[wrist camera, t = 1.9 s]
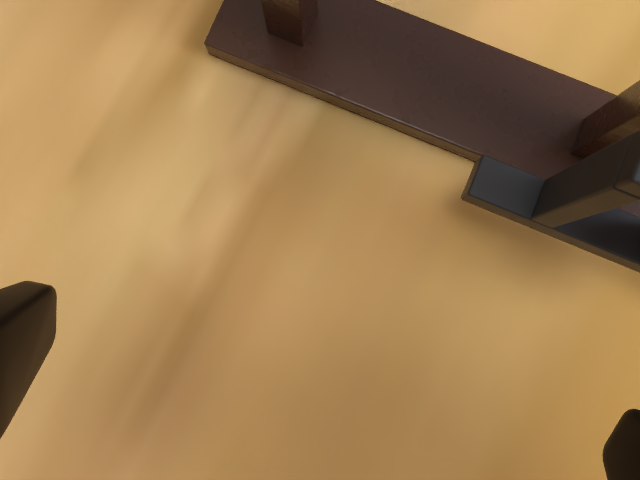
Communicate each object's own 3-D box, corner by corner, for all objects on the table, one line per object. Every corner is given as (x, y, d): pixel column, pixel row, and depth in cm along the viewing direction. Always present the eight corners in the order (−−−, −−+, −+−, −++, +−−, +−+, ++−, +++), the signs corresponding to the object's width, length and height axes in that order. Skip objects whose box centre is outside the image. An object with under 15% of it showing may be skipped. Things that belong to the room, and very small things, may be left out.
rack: (605, 309, 22) (1084, 328, 8) (172, 130, 23) (-59, -127, 9) (671, 129, 23) (1212, -133, 9) (250, -37, 24) (145, -512, 10)
